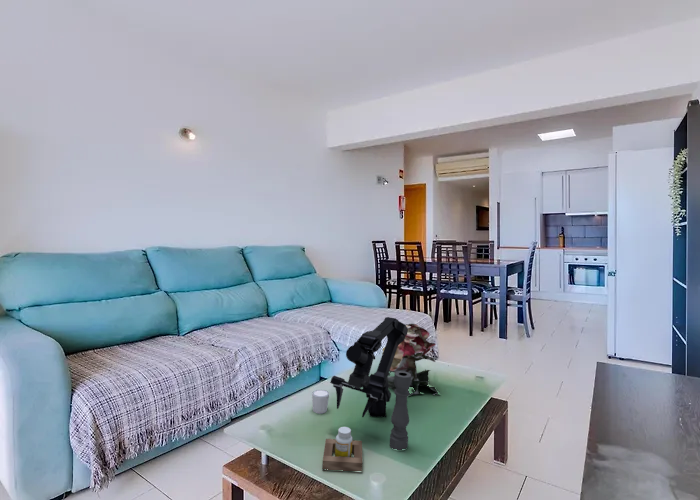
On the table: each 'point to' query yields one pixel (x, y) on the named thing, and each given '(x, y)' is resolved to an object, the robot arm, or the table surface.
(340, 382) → the robot arm
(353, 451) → the socket block
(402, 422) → the candle holder
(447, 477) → the table surface
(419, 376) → the rose bouquet
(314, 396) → the shot glass
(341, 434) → the supplement bottle
